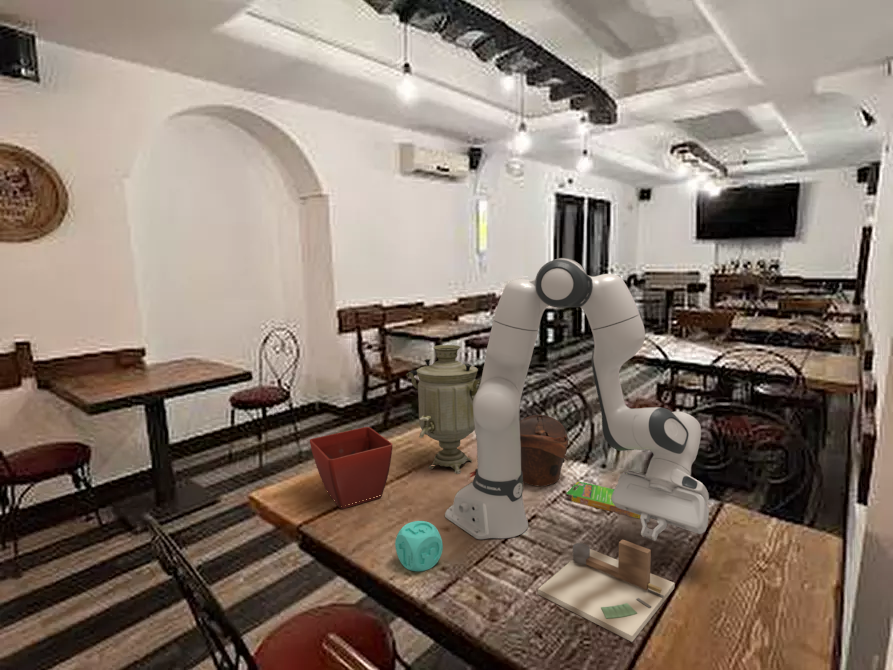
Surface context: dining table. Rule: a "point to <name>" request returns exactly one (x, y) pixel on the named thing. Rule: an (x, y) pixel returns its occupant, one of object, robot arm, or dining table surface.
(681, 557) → the dining table surface
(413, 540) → the decorative dice
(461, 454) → the samovar
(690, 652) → the dining table surface
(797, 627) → the dining table surface
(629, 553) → the tuning lever
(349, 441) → the plant pot
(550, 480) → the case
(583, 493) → the game box
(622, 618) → the dial board
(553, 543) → the dining table surface
